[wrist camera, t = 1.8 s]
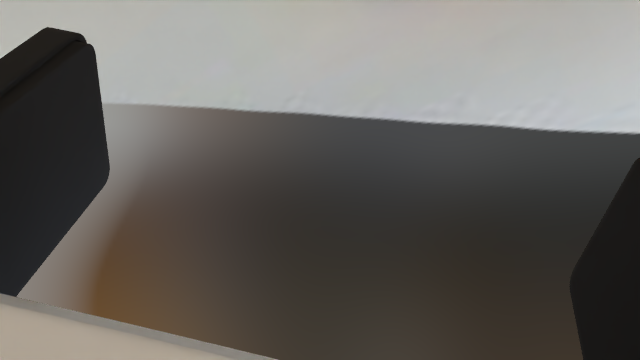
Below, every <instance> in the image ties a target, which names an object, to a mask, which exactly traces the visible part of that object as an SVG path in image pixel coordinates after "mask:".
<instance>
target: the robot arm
mask: <svg viewBox="0 0 640 360" xmlns="http://www.w3.org/2000/svg"><path fill="white" fill-rule="evenodd" d="M109 170H110V166H109V157H108V149H107V142H106V134H105V126H104V118H103V110H102V102H101V94H100V86H99V78H98V70H97V62H96V54H95V50H94V48H93V46H92V45H91V44H87V42H86V40H85V38H84V36H83V35H81V34H79V33H75V32H70V31H65V30H60V29H55V28H49V27H47V28H44V29H42V30H41V31H39V32H38V33H37V34H35V35H34V36H32V37H31V38H29V39H28V40H27V41H25V42H24V43H22V44H21V45H19V46H18V47H17V48H15V49H14V50H12V51H11V52H9V53H8V54H6V55H5V56H4V57H2V58H1V59H0V360H277V359H273V358H269V357H265V356H261V355H257V354H252V353H248V352H244V351H240V350H236V349H232V348H228V347H224V346H219V345H215V344H210V343H206V342H203V341H199V340H194V339H190V338H186V337H182V336H178V335H174V334H170V333H165V332H161V331H157V330H153V329H149V328H145V327H140V326H136V325H132V324H127V323H123V322H119V321H115V320H111V319H107V318H102V317H98V316H94V315H90V314H85V313H81V312H77V311H73V310H69V309H64V308H60V307H56V306H51V305H47V304H43V303H38V302H34V301H31V300H26V299H22V298H18V297H16V296H17V295H18V293H19V292H20V291H21V290H22V288H23V287H24V286H25V285H26V283H27V282H28V281H29V280H30V278H31V277H32V276H33V275H34V273H35V272H36V271H37V270H38V268H39V267H40V266H41V265H42V263H43V262H44V261H45V260H46V258H47V257H48V256H49V255H50V253H51V252H52V251H53V250H54V248H55V247H56V246H57V245H58V243H59V242H60V241H61V240H62V238H63V237H64V235H65V234H66V233H67V232H68V231H69V230H70V228H71V227H72V226H73V225H74V223H75V222H76V221H77V219H78V218H79V217H80V216H81V214H82V213H83V212H84V211H85V209H86V208H87V207H88V206H89V204H90V203H91V202H92V201H93V199H94V198H95V197H96V195H97V194H98V193H99V192H100V191H101V189H102V188H103V187H104V185H105V184H106V182H107V179H108V176H109ZM570 293H571V298H572V303H573V309H574V314H575V319H576V324H577V328H578V334H579V339H580V344H581V350H582V355H583V360H640V158H638V159H637V160H636V161H635V162H634V164H633V165H632V167H631V169H630V171H629V172H628V174H627V176H626V177H625V179H624V181H623V183H622V184H621V186H620V188H619V190H618V192H617V193H616V195H615V197H614V199H613V200H612V202H611V204H610V206H609V207H608V209H607V211H606V213H605V214H604V216H603V218H602V220H601V222H600V223H599V225H598V227H597V229H596V230H595V232H594V234H593V236H592V237H591V239H590V241H589V243H588V245H587V246H586V248H585V250H584V252H583V254H582V255H581V257H580V259H579V260H578V262H577V264H576V266H575V268H574V270H573V272H572V275H571V279H570Z"/></svg>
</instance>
